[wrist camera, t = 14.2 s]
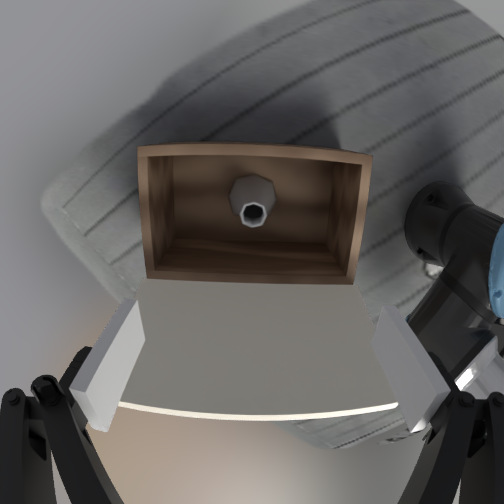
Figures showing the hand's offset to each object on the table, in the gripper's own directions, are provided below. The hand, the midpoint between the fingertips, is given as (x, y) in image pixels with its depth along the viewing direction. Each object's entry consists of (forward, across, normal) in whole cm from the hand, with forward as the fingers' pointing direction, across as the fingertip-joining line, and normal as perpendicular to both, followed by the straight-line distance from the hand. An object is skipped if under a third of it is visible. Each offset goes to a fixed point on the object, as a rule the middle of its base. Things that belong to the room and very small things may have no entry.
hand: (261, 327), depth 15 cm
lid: (+11, 0, +10) cm, 15 cm away
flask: (+31, 0, 0) cm, 31 cm away
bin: (+31, 0, 0) cm, 31 cm away
